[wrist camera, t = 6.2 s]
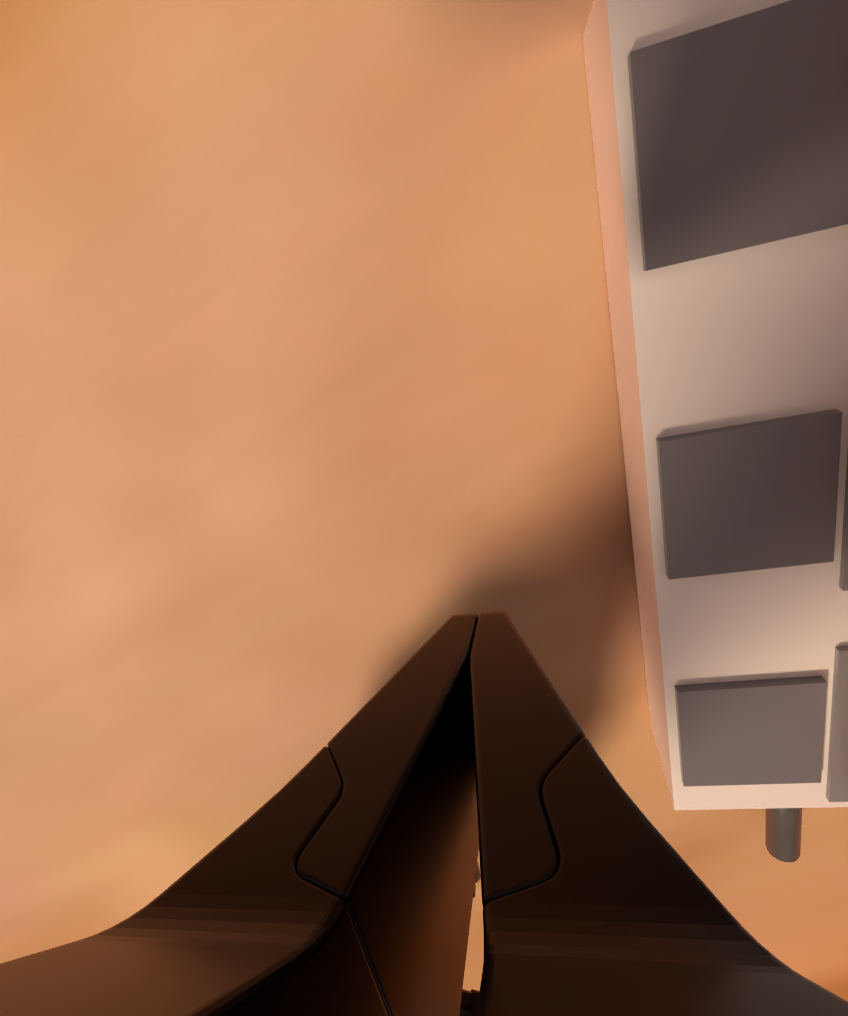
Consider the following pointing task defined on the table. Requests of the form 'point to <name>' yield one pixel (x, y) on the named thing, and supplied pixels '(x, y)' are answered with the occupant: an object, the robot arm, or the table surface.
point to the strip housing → (733, 384)
